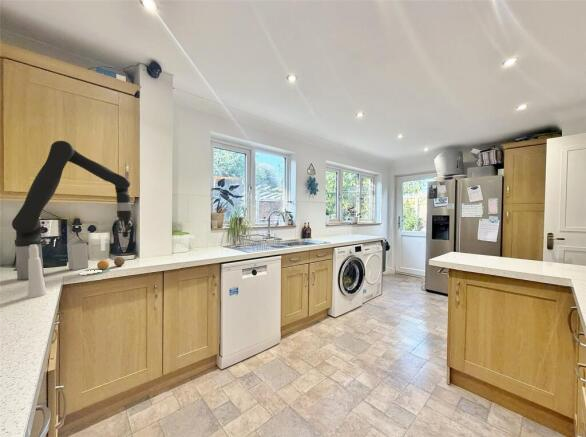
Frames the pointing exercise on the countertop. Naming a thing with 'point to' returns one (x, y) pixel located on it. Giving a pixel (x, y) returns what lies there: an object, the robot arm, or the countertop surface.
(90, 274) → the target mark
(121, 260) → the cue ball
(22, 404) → the countertop surface
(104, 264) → the object ball
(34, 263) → the cosmetic bottle
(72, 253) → the milk carton
